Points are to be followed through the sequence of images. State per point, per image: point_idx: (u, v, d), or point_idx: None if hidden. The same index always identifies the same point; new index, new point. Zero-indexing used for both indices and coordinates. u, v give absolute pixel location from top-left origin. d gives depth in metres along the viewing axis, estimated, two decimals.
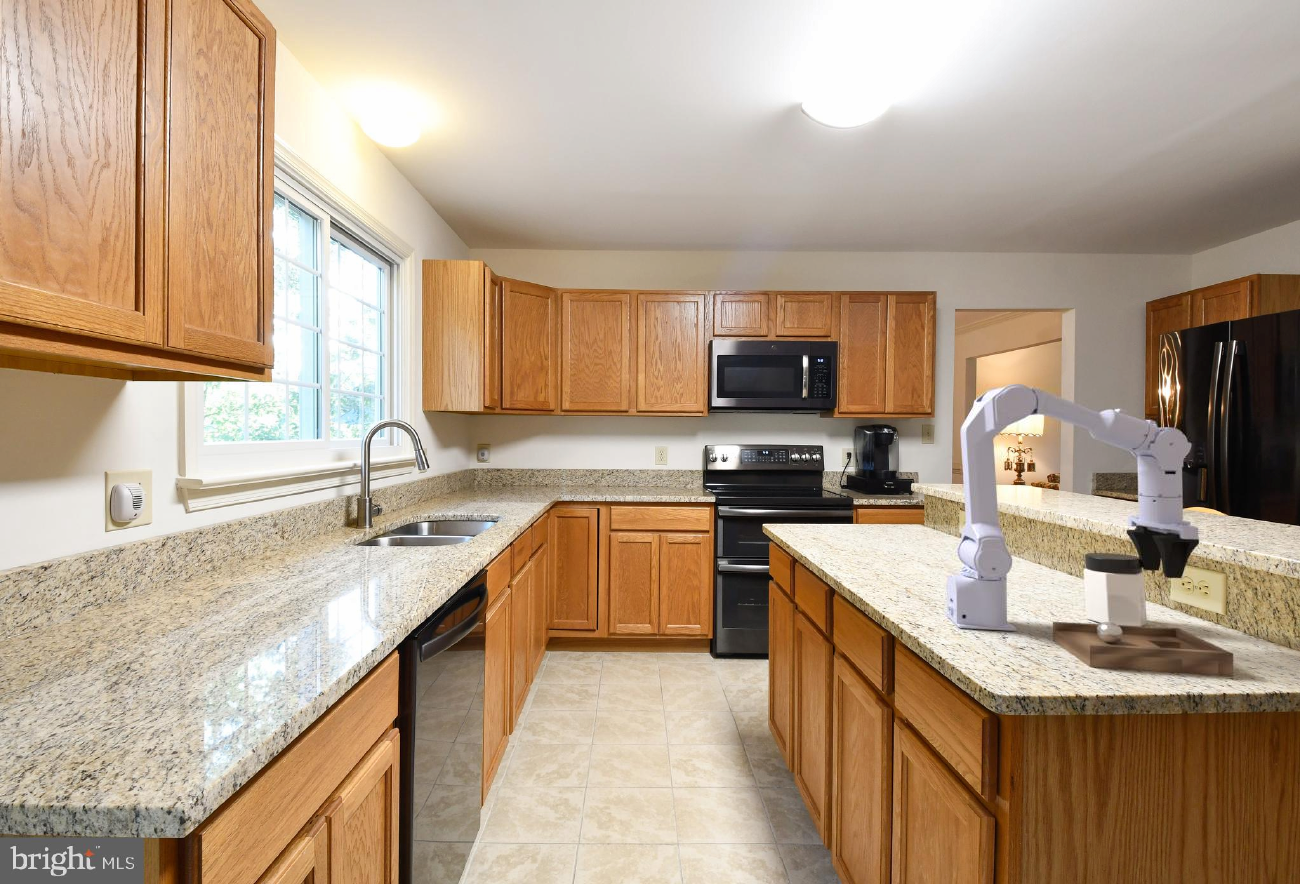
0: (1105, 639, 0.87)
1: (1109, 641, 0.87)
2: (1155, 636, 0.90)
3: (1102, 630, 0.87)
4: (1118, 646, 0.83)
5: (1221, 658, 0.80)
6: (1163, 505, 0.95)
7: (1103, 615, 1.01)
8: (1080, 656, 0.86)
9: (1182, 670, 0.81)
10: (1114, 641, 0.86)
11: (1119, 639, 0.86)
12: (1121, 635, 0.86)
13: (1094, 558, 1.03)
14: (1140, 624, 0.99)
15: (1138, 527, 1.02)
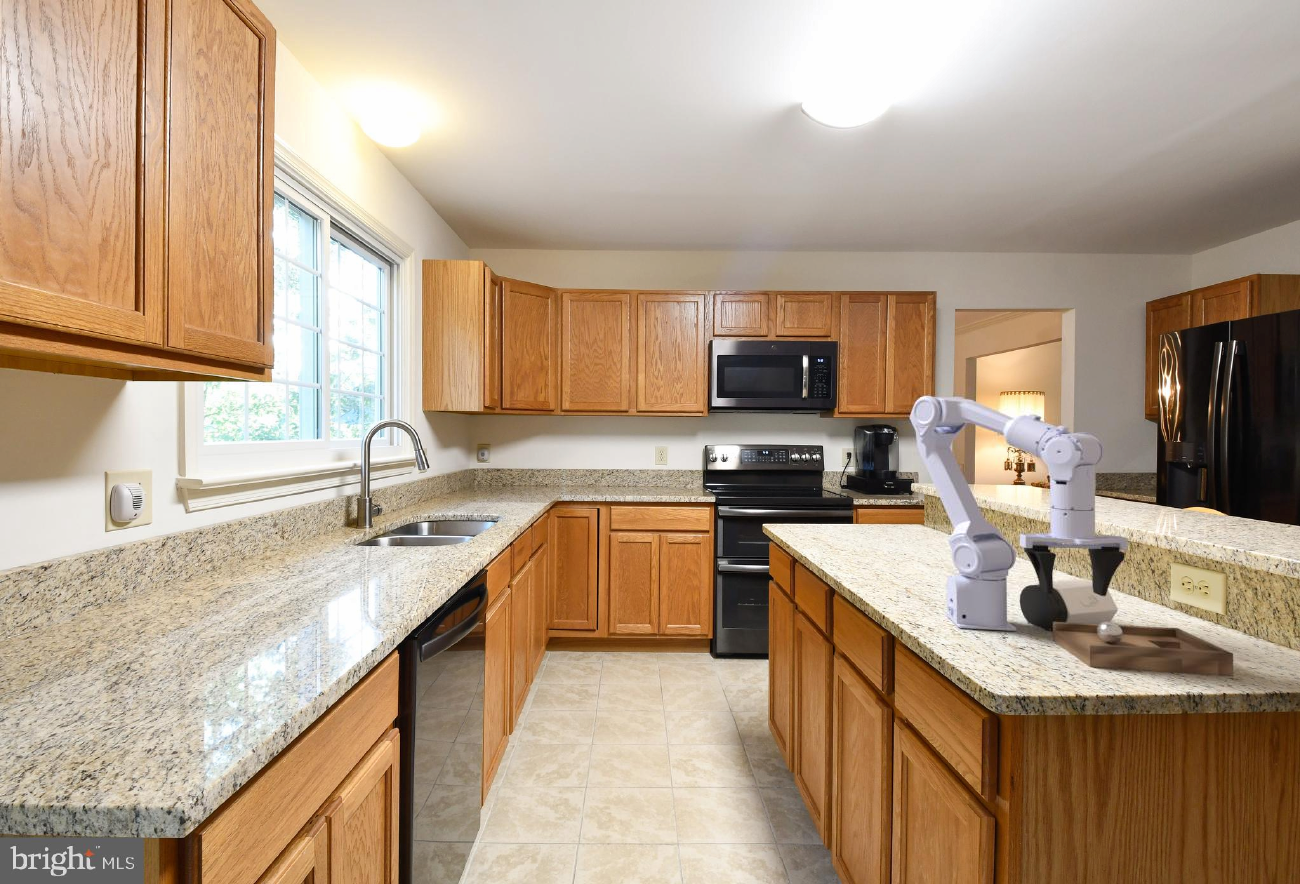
0: (1105, 639, 0.87)
1: (1109, 641, 0.87)
2: (1155, 636, 0.90)
3: (1102, 630, 0.87)
4: (1118, 646, 0.83)
5: (1221, 658, 0.80)
6: (1050, 515, 0.90)
7: None
8: (1080, 656, 0.86)
9: (1182, 670, 0.81)
10: (1114, 641, 0.86)
11: (1119, 639, 0.86)
12: (1121, 635, 0.86)
13: None
14: (1115, 608, 0.98)
15: None
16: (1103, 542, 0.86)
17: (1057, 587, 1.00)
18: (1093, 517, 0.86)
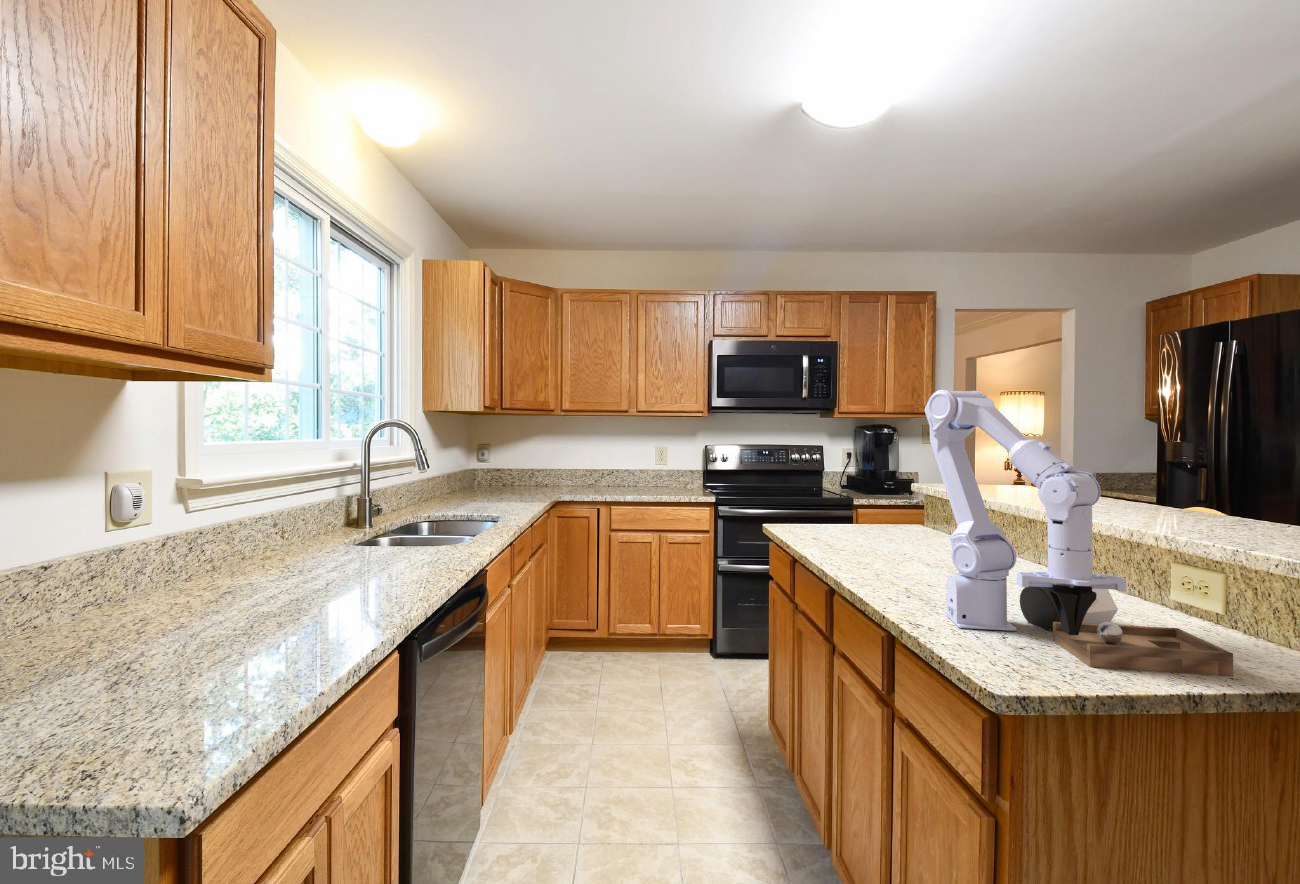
0: (1105, 639, 0.87)
1: (1109, 641, 0.87)
2: (1155, 636, 0.90)
3: (1102, 630, 0.87)
4: (1118, 646, 0.83)
5: (1221, 658, 0.80)
6: None
7: None
8: (1080, 656, 0.86)
9: (1182, 670, 0.81)
10: (1114, 641, 0.86)
11: (1119, 639, 0.86)
12: (1121, 635, 0.86)
13: None
14: (1115, 608, 0.98)
15: None
16: (1100, 583, 0.86)
17: None
18: (1090, 558, 0.86)
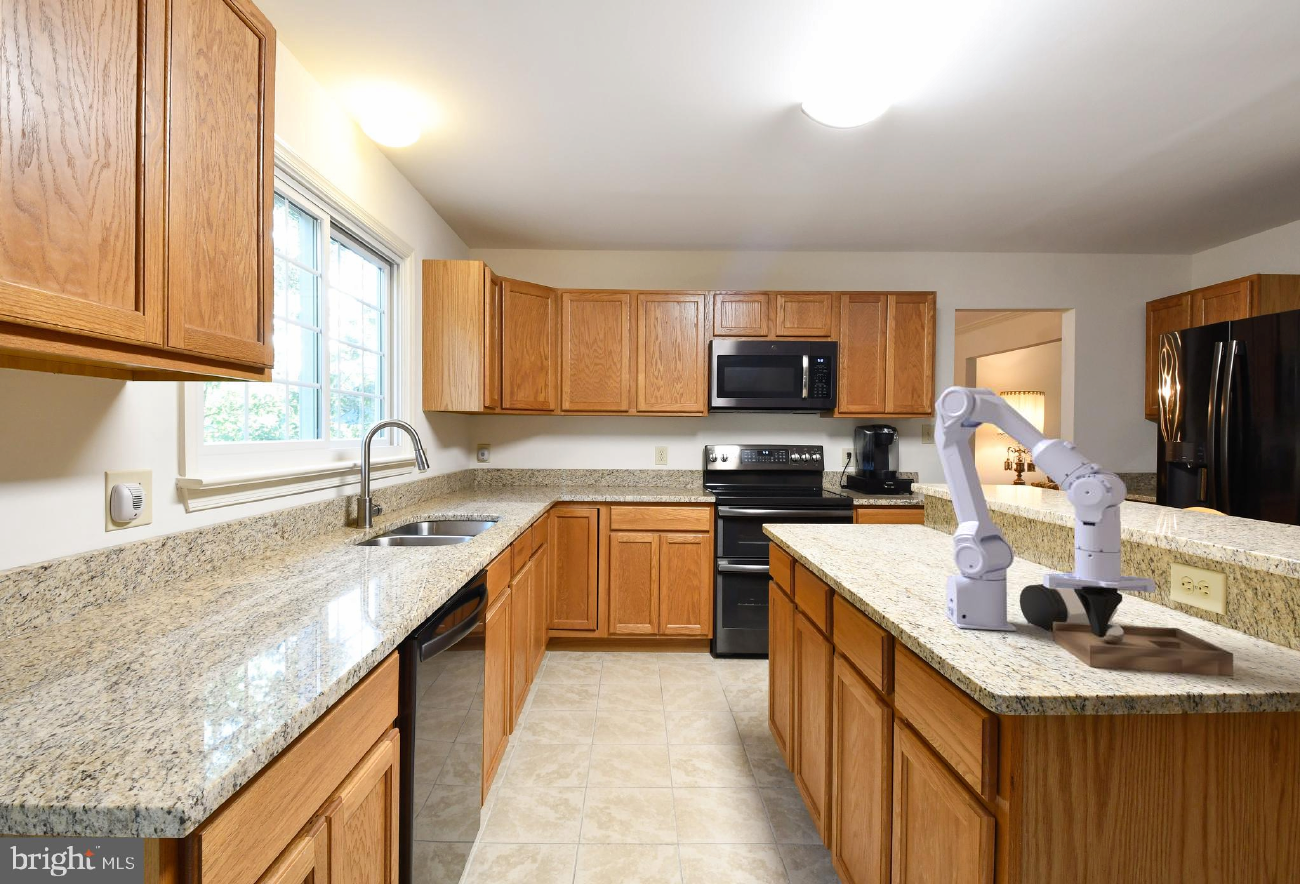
0: (1106, 639, 0.87)
1: (1109, 641, 0.87)
2: (1155, 636, 0.90)
3: None
4: (1118, 646, 0.83)
5: (1221, 658, 0.80)
6: None
7: None
8: (1080, 656, 0.86)
9: (1182, 670, 0.81)
10: (1115, 641, 0.86)
11: (1120, 640, 0.86)
12: (1122, 636, 0.86)
13: None
14: None
15: None
16: (1129, 585, 0.85)
17: None
18: (1119, 559, 0.85)
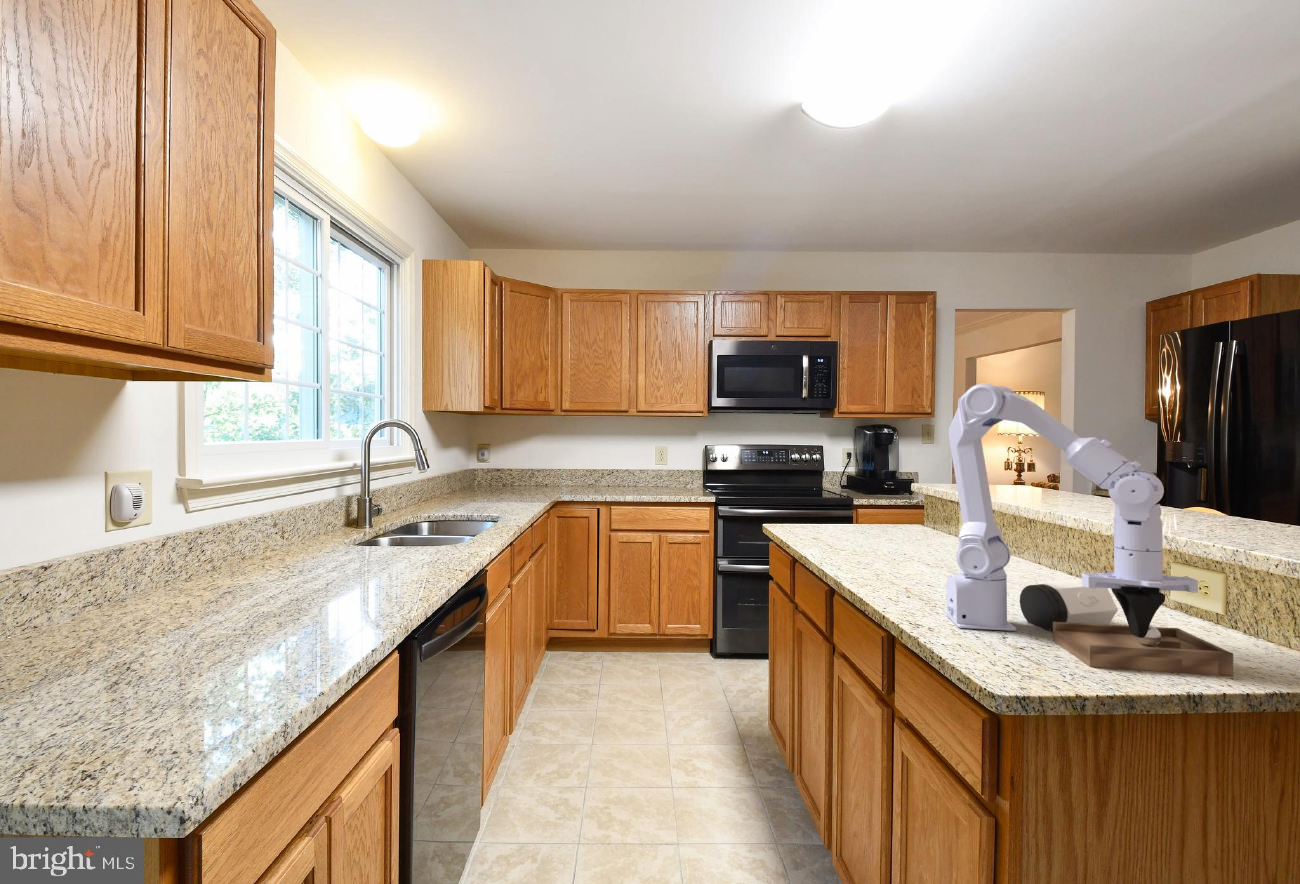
0: (1159, 632, 0.85)
1: (1156, 630, 0.85)
2: None
3: (1160, 640, 0.86)
4: (1118, 646, 0.83)
5: (1221, 658, 0.80)
6: (1114, 555, 0.88)
7: None
8: (1080, 656, 0.86)
9: (1182, 670, 0.81)
10: (1153, 631, 0.85)
11: (1149, 633, 0.85)
12: (1145, 636, 0.85)
13: None
14: (1115, 608, 0.98)
15: None
16: (1172, 584, 0.84)
17: (1057, 587, 1.00)
18: (1161, 558, 0.84)
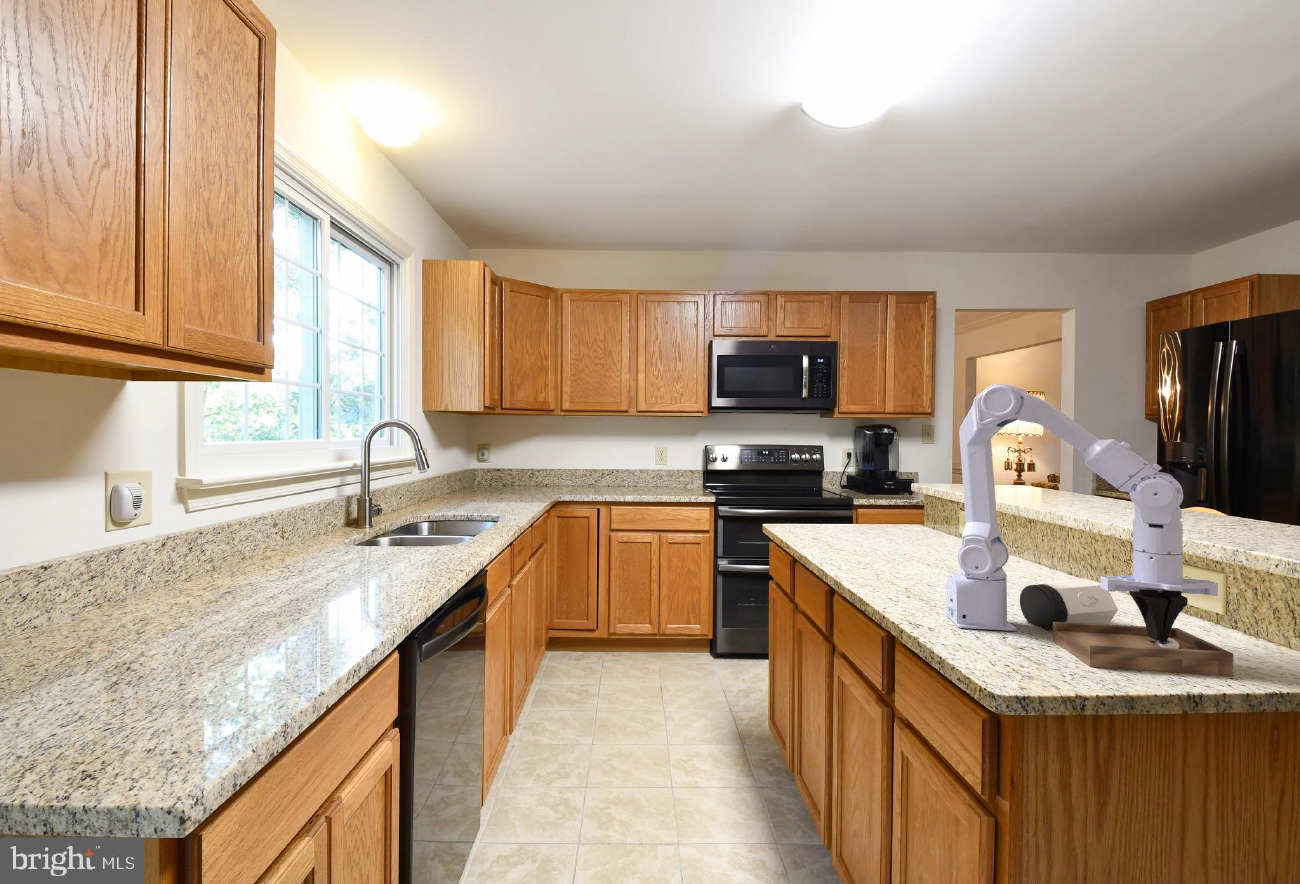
0: None
1: None
2: None
3: None
4: (1118, 646, 0.83)
5: (1221, 658, 0.80)
6: (1133, 558, 0.88)
7: None
8: (1080, 656, 0.86)
9: (1182, 670, 0.81)
10: None
11: None
12: None
13: None
14: (1115, 608, 0.98)
15: None
16: (1192, 587, 0.84)
17: (1057, 587, 1.00)
18: (1181, 561, 0.84)
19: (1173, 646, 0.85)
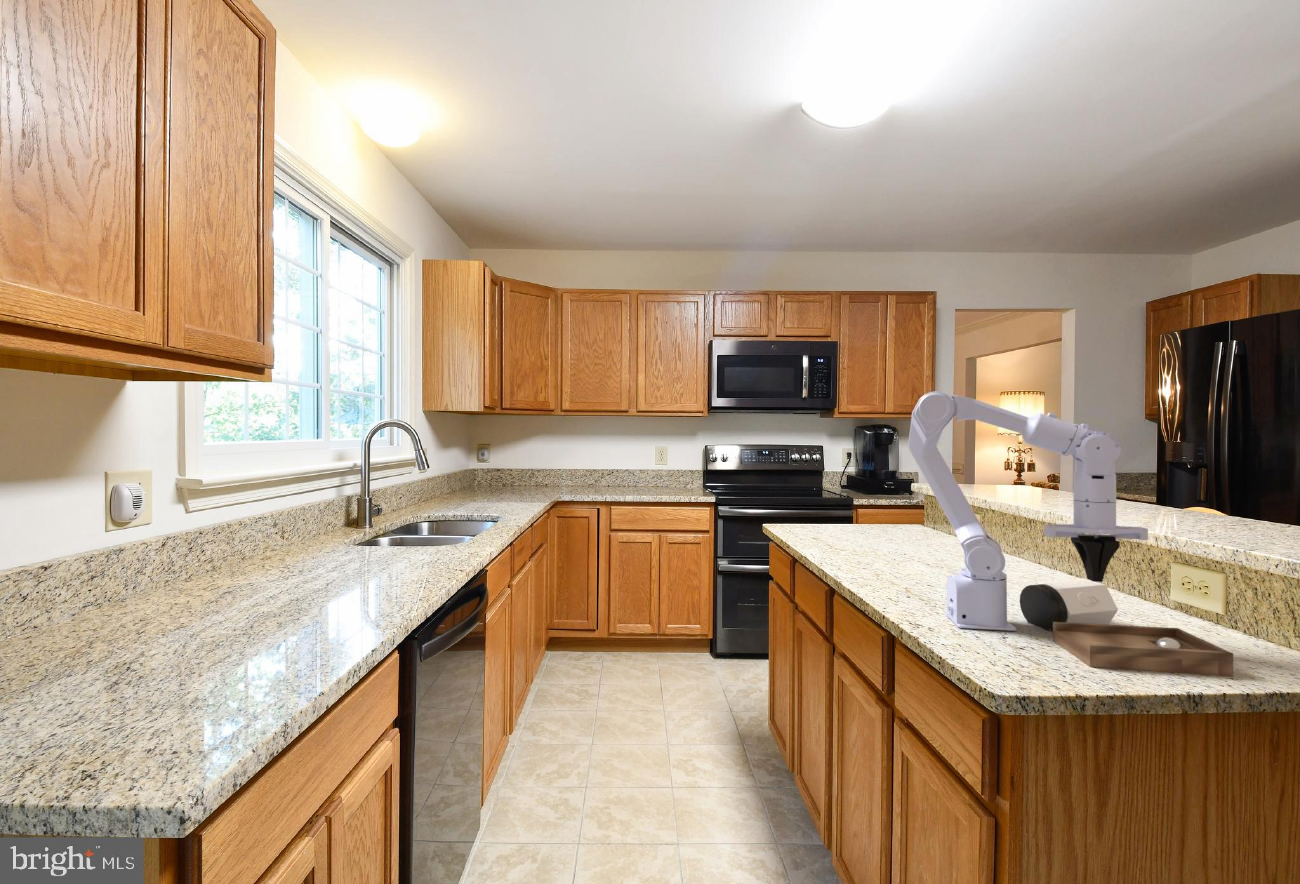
0: None
1: None
2: (1155, 636, 0.90)
3: None
4: (1118, 646, 0.83)
5: (1221, 658, 0.80)
6: None
7: None
8: (1080, 656, 0.86)
9: (1182, 670, 0.81)
10: None
11: None
12: None
13: None
14: (1115, 608, 0.98)
15: None
16: (1124, 532, 0.92)
17: (1057, 587, 1.00)
18: (1114, 509, 0.93)
19: (1174, 646, 0.85)
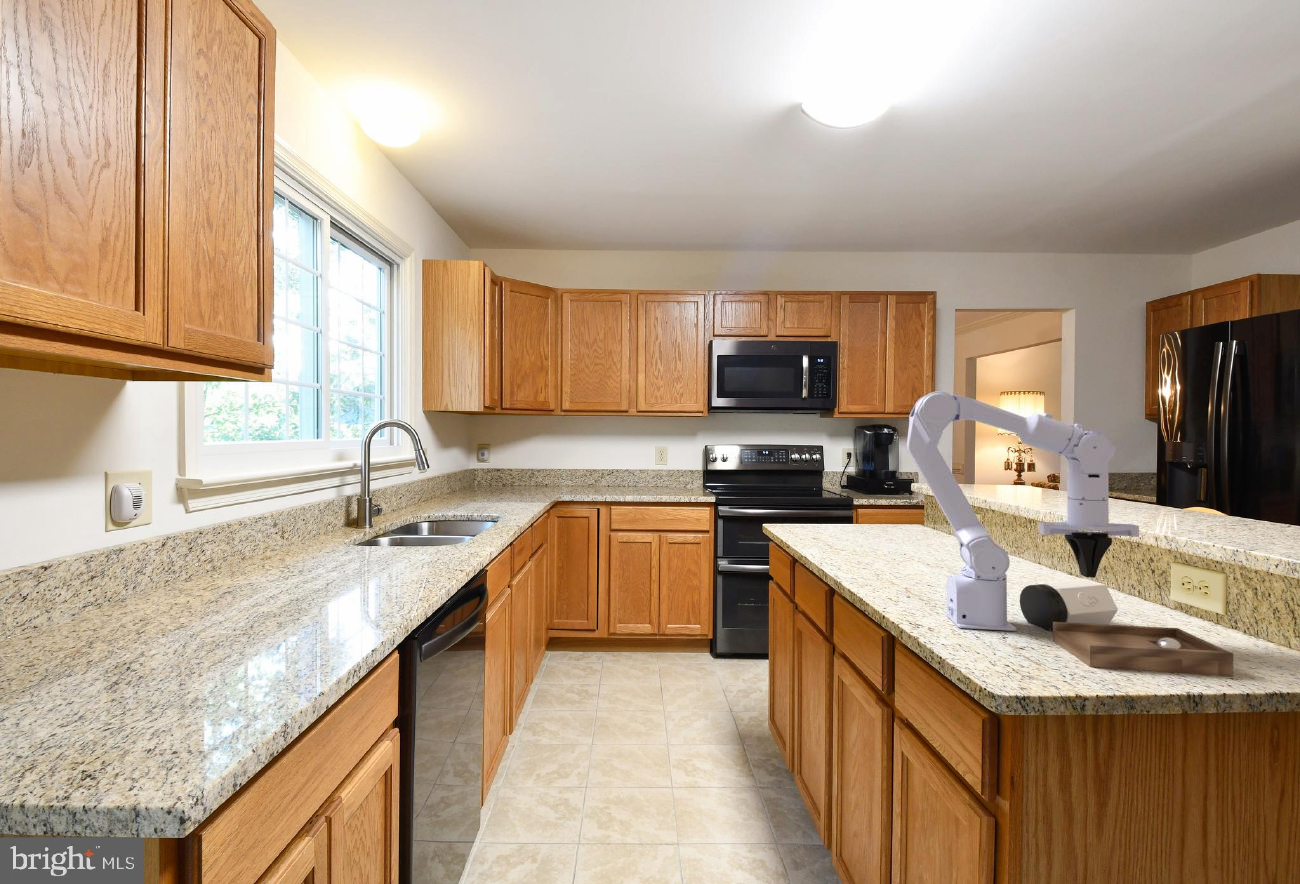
0: None
1: None
2: (1155, 636, 0.90)
3: None
4: (1118, 646, 0.83)
5: (1221, 658, 0.80)
6: (1067, 505, 0.99)
7: None
8: (1080, 656, 0.86)
9: (1182, 670, 0.81)
10: None
11: None
12: None
13: None
14: (1115, 608, 0.98)
15: None
16: (1116, 529, 0.95)
17: (1057, 587, 1.00)
18: (1106, 506, 0.95)
19: (1175, 646, 0.85)
